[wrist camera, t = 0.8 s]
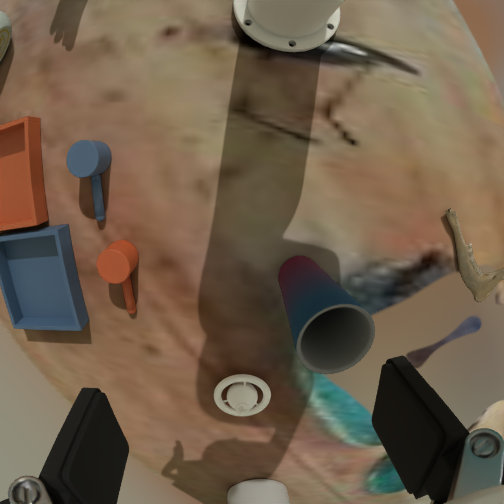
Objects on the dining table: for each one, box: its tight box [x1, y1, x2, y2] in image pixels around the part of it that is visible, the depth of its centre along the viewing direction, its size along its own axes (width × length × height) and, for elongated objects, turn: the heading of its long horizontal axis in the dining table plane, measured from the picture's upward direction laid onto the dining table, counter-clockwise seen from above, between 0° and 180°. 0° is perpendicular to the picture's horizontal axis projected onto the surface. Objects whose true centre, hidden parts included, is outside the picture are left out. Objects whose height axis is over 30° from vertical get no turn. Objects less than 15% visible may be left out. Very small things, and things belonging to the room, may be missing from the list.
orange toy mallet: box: [97, 240, 139, 314], centre depth 35 cm, size 9×4×4 cm, turn 3°
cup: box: [278, 256, 375, 374], centre depth 32 cm, size 7×7×15 cm
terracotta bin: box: [0, 116, 48, 231], centre depth 30 cm, size 13×12×3 cm
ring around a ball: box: [214, 374, 271, 416], centre depth 41 cm, size 8×6×8 cm
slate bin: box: [0, 224, 89, 331], centre depth 35 cm, size 13×12×3 cm
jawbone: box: [446, 208, 504, 302], centre depth 40 cm, size 9×20×2 cm, turn 64°
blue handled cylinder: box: [67, 140, 111, 221], centre depth 32 cm, size 9×4×4 cm, turn 3°
